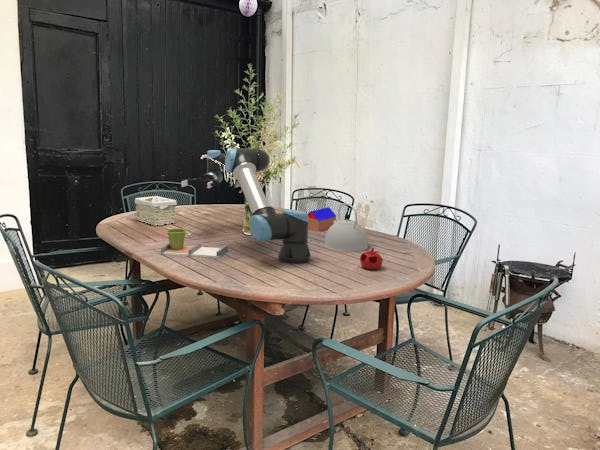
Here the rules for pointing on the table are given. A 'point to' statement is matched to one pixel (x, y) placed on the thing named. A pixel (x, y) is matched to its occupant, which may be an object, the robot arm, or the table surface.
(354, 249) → the kettle
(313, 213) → the house
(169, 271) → the table surface
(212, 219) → the table surface
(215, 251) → the slot board
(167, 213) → the storage basket
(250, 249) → the table surface
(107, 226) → the table surface
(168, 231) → the plant pot
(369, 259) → the pomegranate
